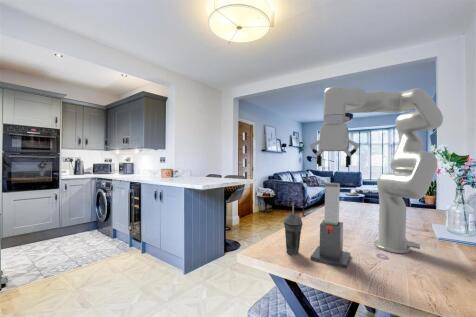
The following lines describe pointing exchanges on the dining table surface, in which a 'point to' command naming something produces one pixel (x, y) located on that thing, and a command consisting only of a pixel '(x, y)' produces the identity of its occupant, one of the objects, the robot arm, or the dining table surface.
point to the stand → (331, 246)
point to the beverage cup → (292, 232)
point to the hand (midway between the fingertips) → (333, 166)
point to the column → (332, 203)
